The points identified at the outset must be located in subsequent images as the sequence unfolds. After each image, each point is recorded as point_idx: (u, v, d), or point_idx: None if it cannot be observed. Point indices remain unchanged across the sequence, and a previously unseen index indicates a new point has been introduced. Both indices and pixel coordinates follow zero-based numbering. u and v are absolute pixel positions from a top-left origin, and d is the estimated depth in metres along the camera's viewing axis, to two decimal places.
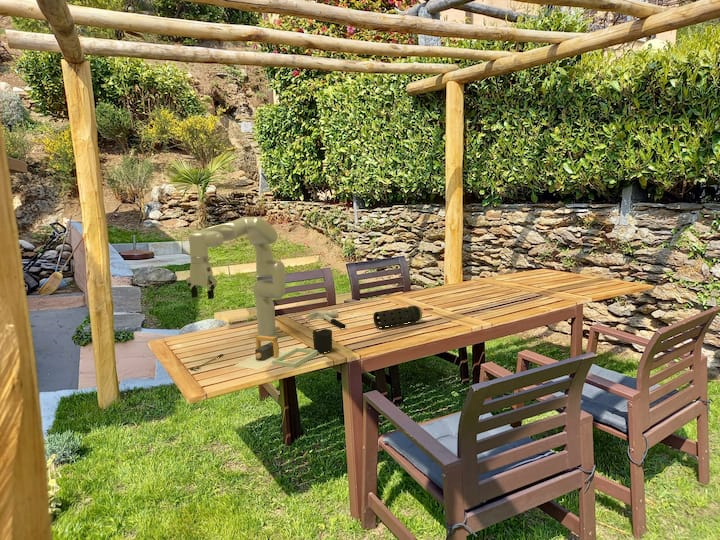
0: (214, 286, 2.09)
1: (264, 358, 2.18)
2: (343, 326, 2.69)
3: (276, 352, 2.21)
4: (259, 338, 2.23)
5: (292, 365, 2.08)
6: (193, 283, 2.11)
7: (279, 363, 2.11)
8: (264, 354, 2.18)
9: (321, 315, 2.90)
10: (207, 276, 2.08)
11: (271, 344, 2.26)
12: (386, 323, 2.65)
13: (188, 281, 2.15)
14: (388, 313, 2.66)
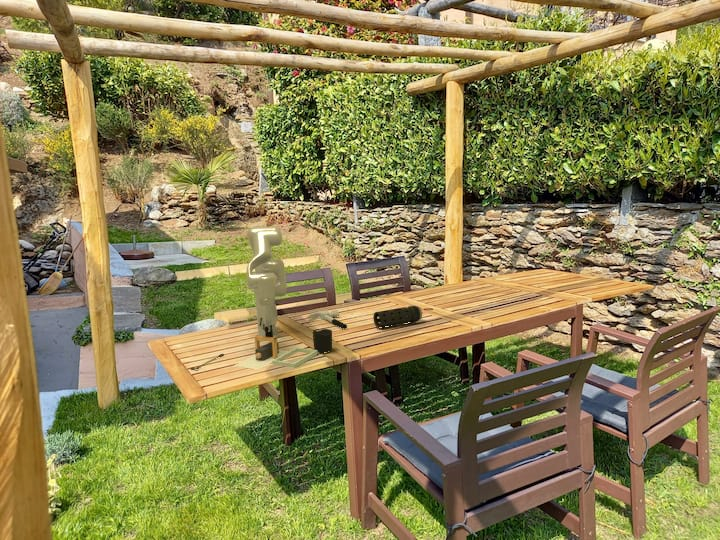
0: None
1: (264, 358, 2.18)
2: (344, 326, 2.69)
3: (275, 352, 2.20)
4: (258, 338, 2.22)
5: (292, 365, 2.08)
6: (268, 324, 2.20)
7: (279, 363, 2.11)
8: (264, 354, 2.18)
9: (322, 315, 2.89)
10: None
11: (271, 344, 2.26)
12: (386, 323, 2.65)
13: (264, 327, 2.20)
14: (388, 313, 2.66)
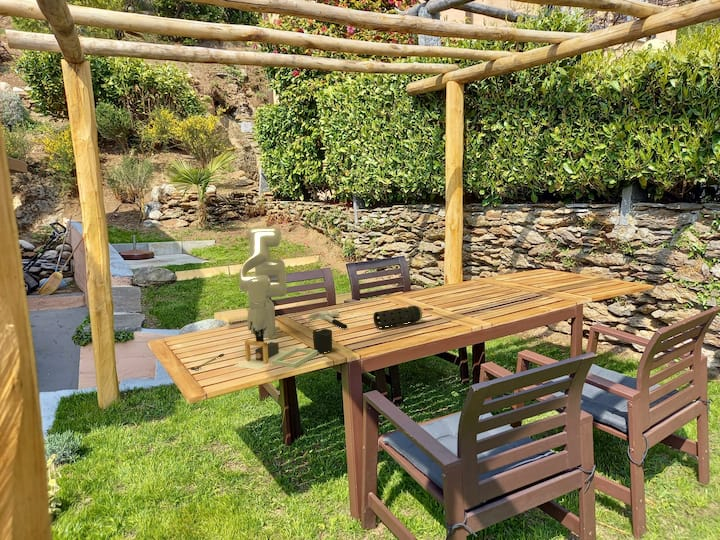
0: None
1: None
2: (345, 326, 2.69)
3: (266, 357, 2.14)
4: (248, 343, 2.16)
5: (292, 365, 2.08)
6: (258, 328, 2.14)
7: (279, 363, 2.11)
8: None
9: (322, 316, 2.89)
10: None
11: (271, 344, 2.26)
12: (386, 323, 2.65)
13: (254, 331, 2.14)
14: (388, 313, 2.66)
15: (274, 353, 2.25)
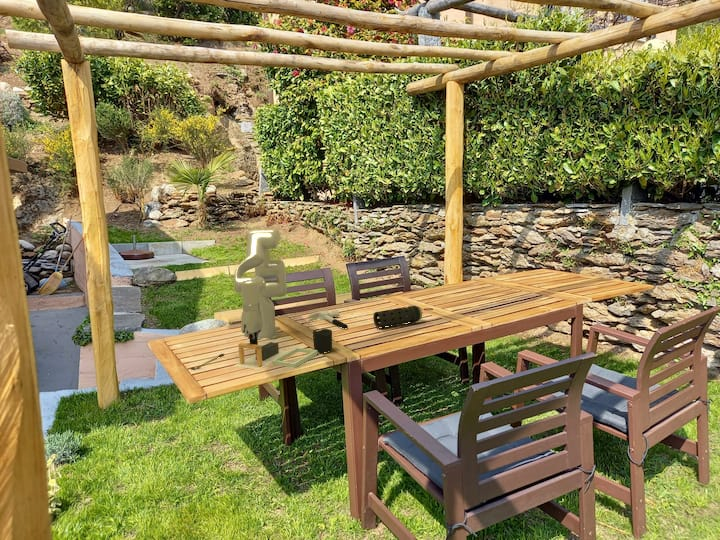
0: None
1: (264, 358, 2.18)
2: (345, 326, 2.69)
3: (260, 360, 2.10)
4: (242, 346, 2.12)
5: (292, 365, 2.08)
6: (252, 331, 2.10)
7: (279, 363, 2.11)
8: (264, 354, 2.18)
9: (322, 315, 2.89)
10: None
11: (271, 344, 2.26)
12: (386, 323, 2.65)
13: (248, 334, 2.10)
14: (388, 313, 2.66)
15: (274, 353, 2.25)
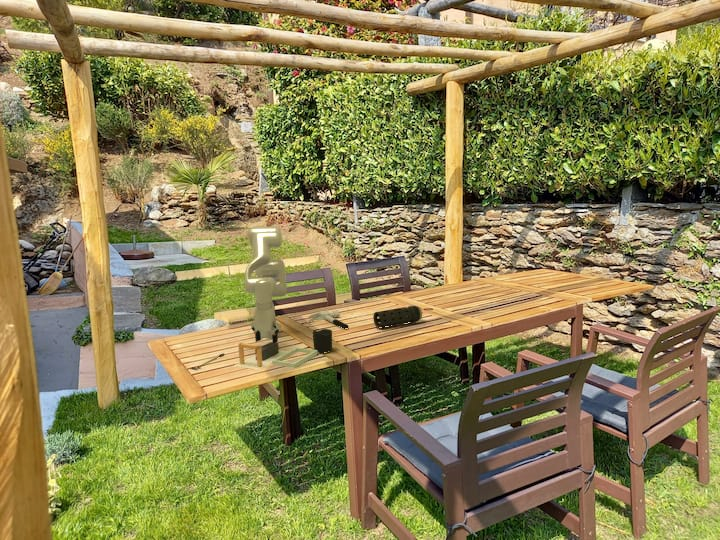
0: None
1: (264, 358, 2.18)
2: (346, 326, 2.68)
3: (260, 360, 2.10)
4: (242, 346, 2.12)
5: (292, 365, 2.08)
6: None
7: (279, 363, 2.11)
8: (264, 354, 2.18)
9: (323, 316, 2.89)
10: None
11: (271, 344, 2.26)
12: (386, 323, 2.65)
13: None
14: (388, 313, 2.66)
15: (274, 353, 2.25)
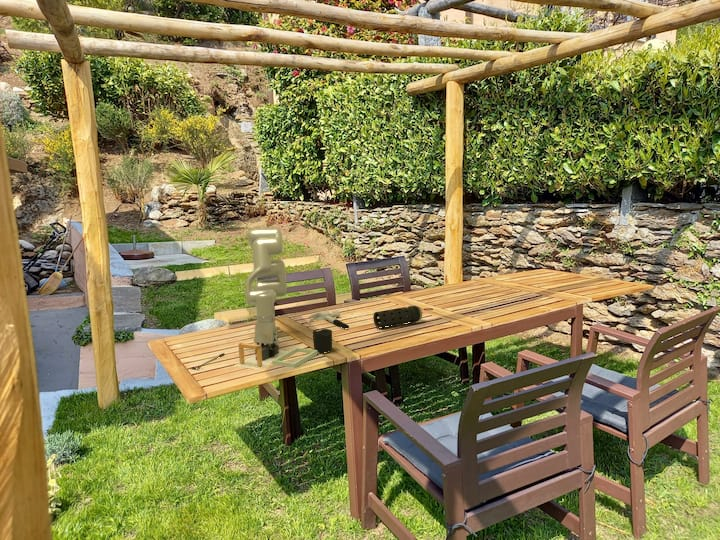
0: None
1: (264, 358, 2.18)
2: (346, 327, 2.68)
3: (260, 360, 2.10)
4: (242, 346, 2.12)
5: (292, 365, 2.08)
6: None
7: (279, 363, 2.11)
8: (264, 354, 2.18)
9: (323, 316, 2.88)
10: None
11: None
12: (386, 323, 2.65)
13: None
14: (388, 313, 2.66)
15: None
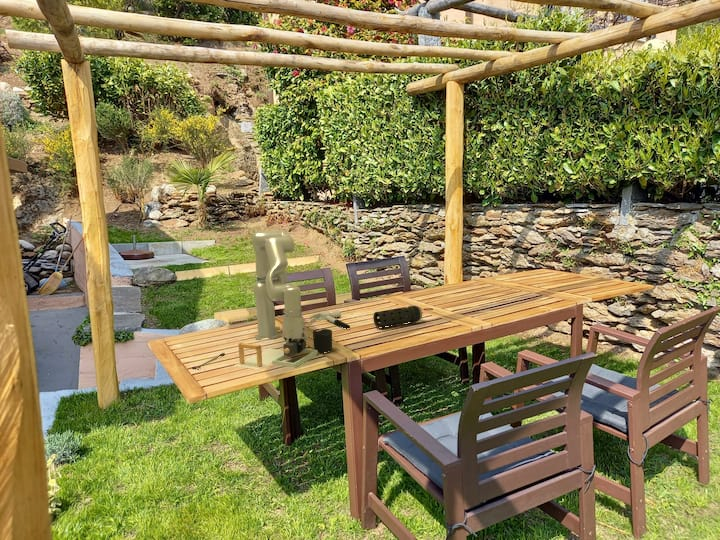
0: None
1: (292, 353, 2.13)
2: (348, 327, 2.68)
3: (260, 360, 2.10)
4: (242, 346, 2.12)
5: (292, 365, 2.08)
6: None
7: (279, 363, 2.11)
8: (292, 349, 2.13)
9: (324, 316, 2.88)
10: None
11: None
12: (386, 323, 2.65)
13: None
14: (388, 313, 2.66)
15: None
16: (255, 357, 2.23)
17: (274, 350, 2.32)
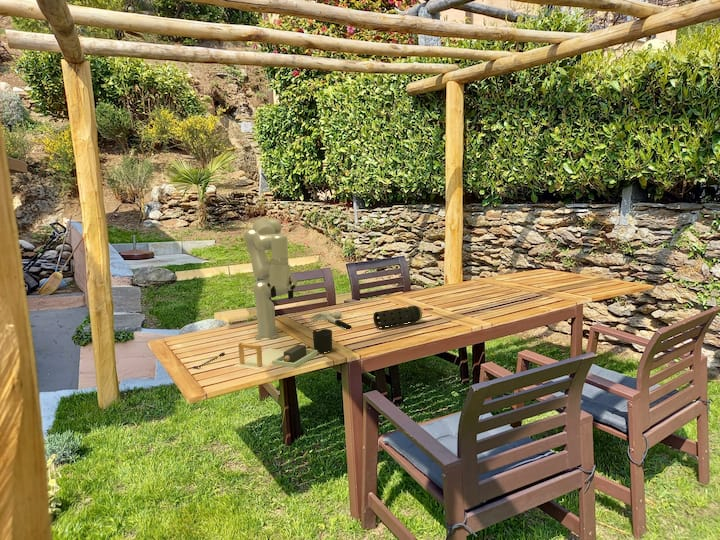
0: None
1: (293, 361, 2.14)
2: (349, 327, 2.67)
3: (260, 360, 2.10)
4: (242, 346, 2.12)
5: (292, 365, 2.08)
6: None
7: (279, 363, 2.11)
8: (293, 357, 2.14)
9: (324, 316, 2.87)
10: None
11: (299, 346, 2.21)
12: (386, 323, 2.65)
13: None
14: (388, 313, 2.66)
15: (302, 356, 2.21)
16: (255, 357, 2.23)
17: (274, 350, 2.32)
